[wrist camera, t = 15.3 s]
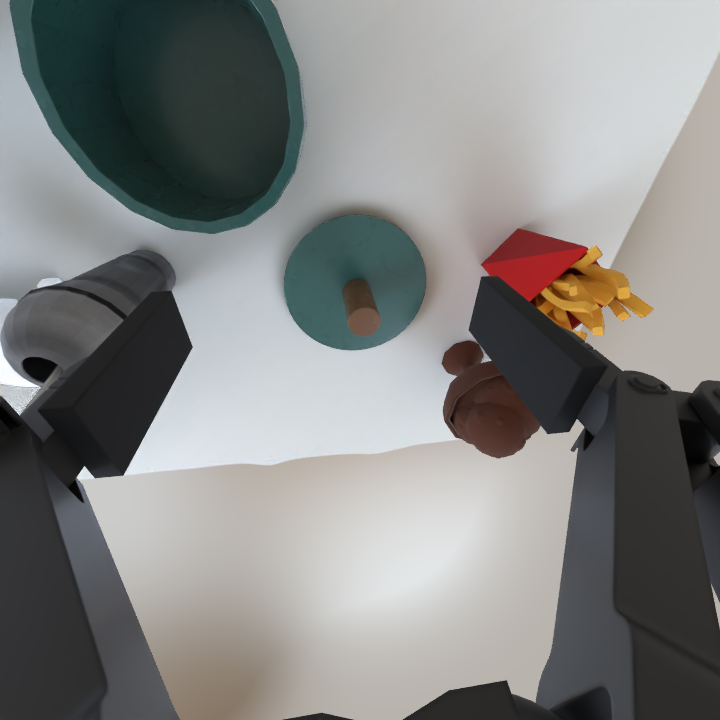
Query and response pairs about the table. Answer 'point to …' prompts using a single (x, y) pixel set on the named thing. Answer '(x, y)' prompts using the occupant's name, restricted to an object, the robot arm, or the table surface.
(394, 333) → the tin lid
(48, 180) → the table surface
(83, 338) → the beverage cup
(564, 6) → the table surface
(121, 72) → the tin
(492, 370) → the ice cream bowl
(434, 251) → the table surface
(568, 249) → the french fries
